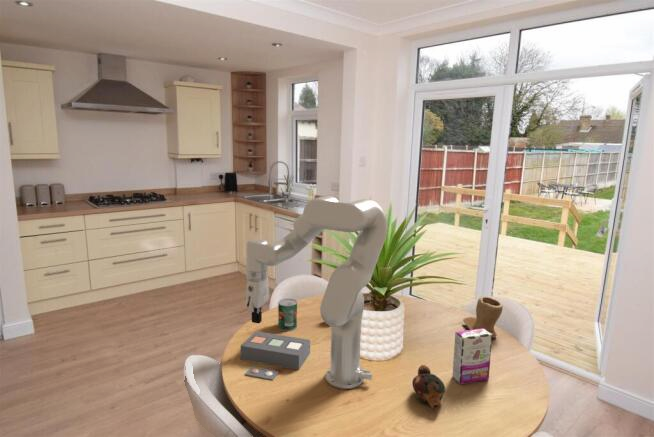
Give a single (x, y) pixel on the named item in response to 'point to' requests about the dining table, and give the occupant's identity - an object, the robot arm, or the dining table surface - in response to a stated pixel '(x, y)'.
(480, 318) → the tan boot
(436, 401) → the decorative turtle
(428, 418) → the dining table surface
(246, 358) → the keypad housing
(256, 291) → the robot arm
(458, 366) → the candy bar box
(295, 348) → the off-white key
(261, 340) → the terracotta key
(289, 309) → the canned tomato
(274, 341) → the sage key
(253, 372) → the card
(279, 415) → the dining table surface
